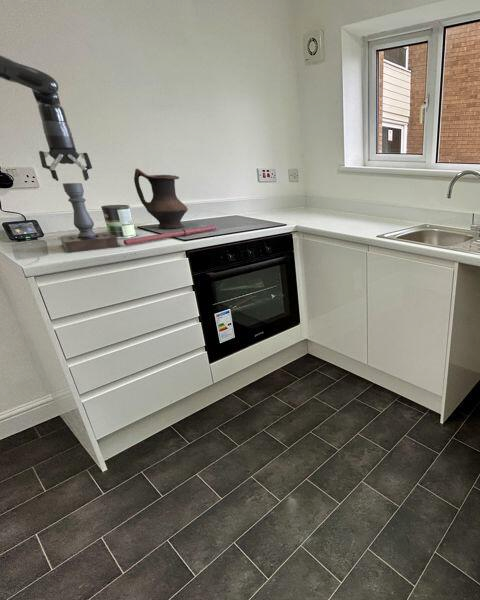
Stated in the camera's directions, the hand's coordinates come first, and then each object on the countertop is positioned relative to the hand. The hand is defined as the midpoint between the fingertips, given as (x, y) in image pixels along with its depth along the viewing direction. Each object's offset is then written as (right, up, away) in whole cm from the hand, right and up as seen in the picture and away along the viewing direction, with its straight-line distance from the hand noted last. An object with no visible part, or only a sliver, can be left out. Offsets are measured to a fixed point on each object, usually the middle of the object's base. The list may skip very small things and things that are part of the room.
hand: (71, 180), depth 137 cm
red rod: (+21, -17, +30) cm, 41 cm away
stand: (-1, -24, +10) cm, 26 cm away
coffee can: (-2, -17, +29) cm, 33 cm away
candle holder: (-1, -25, +10) cm, 26 cm away
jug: (+3, -8, +53) cm, 54 cm away
